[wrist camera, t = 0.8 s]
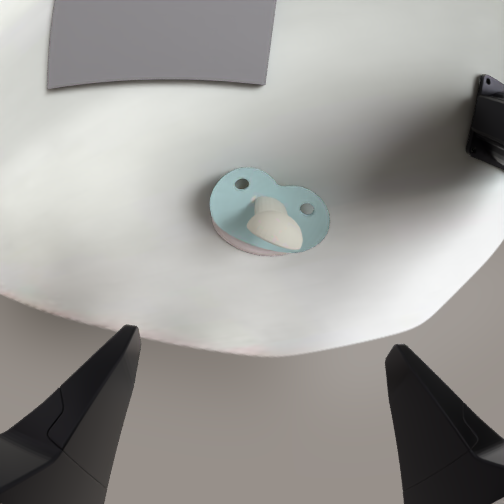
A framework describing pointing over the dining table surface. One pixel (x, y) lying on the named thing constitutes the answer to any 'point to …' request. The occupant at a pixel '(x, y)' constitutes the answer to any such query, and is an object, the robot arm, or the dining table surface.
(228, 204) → the pacifier
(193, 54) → the mat
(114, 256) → the dining table surface
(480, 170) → the dining table surface
